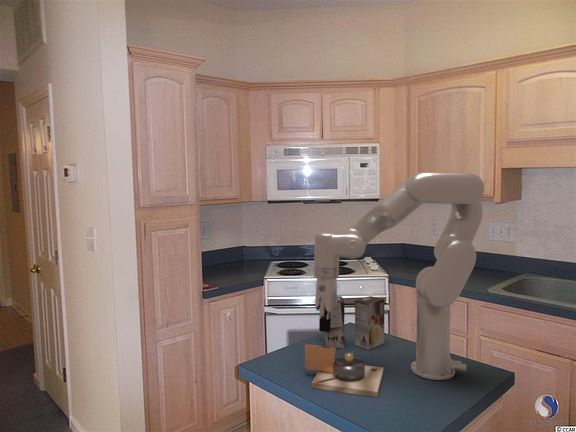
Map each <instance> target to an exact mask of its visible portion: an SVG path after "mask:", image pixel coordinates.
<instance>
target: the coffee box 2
mask: <svg viewBox="0 0 576 432" xmlns="http://www.w3.org/2000/svg"><path fill="white" fill-rule="evenodd" d="M383 344H385V298H381V297H376V296H371V295H369V296H366V297H362V298H360V299H356V300H354V345H355V346H357V347H361V348H362V349H366V350H372V349H374V348H376V347H378V346H380V345H383Z"/></svg>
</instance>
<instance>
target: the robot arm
mask: <svg viewBox="0 0 576 432" xmlns="http://www.w3.org/2000/svg"><path fill="white" fill-rule="evenodd" d="M484 193H485V183H484V181H483V179H482V178H481V177H480V176H478V175H477V174H475V173H472V172H430V171H429V172H428V171H423V172H416V173H413V174H412V175H410V176H409V177H408V178H406V180H404V181H403V182H402V183H401V184H400V185H398V186H397V187H396V188H395V189H394V190H393V191H392V192H389V194H388V195H387V196H386V197H384V198H383V199H382V200H381V201H380V202H378V203H377V204H376V205H375V206H374V207H373V208H372V209H370V210H369V211H368V212H367V213H366V214H364V215H363V216H362V217H361V218H360V219H358V220H357V221H356V222H355V223H354V224H353V225H352V226H350V227H349V228H348V229H347V230H346V231H344V233H341V234H339V233H338V232H335V231H328V230H327V231H326V230H325V231H324V230H323V231H319V232H316V234H315V236H314V255H313V256H314V261H313V262H314V263H313V265H314V266H313V277H314V278H315V279H316V284H315V305H314V306H315V310H316V311H317V312H318V311H319V313H318V315H319V319H318V320H319V324H318V325H319V326H318V327H319V329H318V331H319V332H322V333H325V332H329V331H330V330H331V318H330V317H331V312H332V311H333V309H334V308H335V307H336V305H337V296H338V281H337V279H339V276H340V273H339V272H340V271H339V270H340V258H345V259H357V258H360V257H361V256H363V255H364V253H365V252H366V246H367V245H368V244H369V243H370V242H371V241H373V240H374V239H375V238H376V237H377V236H379V235H381V233H383V232H385V231H387V230H389V229H392V228H394V227H396V226H398V225H400V224H401V223H402V222H404V220H406V219H407V218H408V217H409V216H410V215H412V213H414V212H415V211H417V209H419V208H420V207H421V206H422V205H423V204H439V205H440V204H444V205H447V204H449V205H451V209H450V215H449V217H448V220H447V223H446V224H445V226H444V228H443V230H442V233H441V234H440V236H439V238H438V240H437V242H436V243H435V245H434V248H433V254H434V257H435V259H436V262H435V263H434V265H433V266H426V267H425V268H423V269H422V270H420V271H419V273H418V274H417V276H416V280H415V295H416V297H415V298H416V340H415V341H416V342H415V343H416V344H415V346H416V347H415V351H416V352H415V353H416V354H415V360H414V361H413V362H411V364H410V371H411V372H412V373H413V374H414V375H416V376H418V377H421V378H424V379H427V380H432V381H445V380H449V379H451V378H453V377H454V376H455V374H456V371H455V370H458V371H464V372H467V363H462V361H461V360H454V359H452V357H451V354H450V351H451V349H450V348H451V315H452V314H451V306H452V305H454V303H455V302H456V301H457V299H458V298H459V297H460V295H461V293H462V291H463V289H464V288H465V285H466V284H467V281H468V279H469V277H470V276H471V274H472V272H473V269H474V267H475V265H476V262H477V261H476V260H477V252H476V249H475V246H474V245H473V244H472V243H473V242H474V239H475V237H476V234H477V232H478V230H479V228H480V225H481V223H482V219H483V213H484V212H483V204H482V199H481V198H482V197H483V195H484Z"/></svg>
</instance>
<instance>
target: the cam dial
mask: <svg viewBox="0 0 576 432" xmlns="http://www.w3.org/2000/svg"><path fill="white" fill-rule="evenodd" d="M336 349H337V348H336V347H327V346H326V345H319V344H318V345H317V344H307V343H305V345H304V370H308V371H316V372H318V371H323V372H331V373H333V375H334V376H335V377H336V378H338V379H341V380H345V381H356V380H360V379H362V378H363V377H364V376H365V365H366V364H365V362H364V361H362V360H361V359H359V358H354V352H349V351H347V352H345V353H344V357H340V358H337V356H336Z"/></svg>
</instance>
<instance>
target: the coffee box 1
mask: <svg viewBox="0 0 576 432" xmlns="http://www.w3.org/2000/svg"><path fill="white" fill-rule="evenodd" d="M345 304H346V302H345V300H344V299H343V296H342V295H337V305H336V307H335V308H334V309H333V311H332V312H331V317H330V318H331V330H330V331H329V332H324V341H325V346H327V347H336V349H344V348H345Z"/></svg>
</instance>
